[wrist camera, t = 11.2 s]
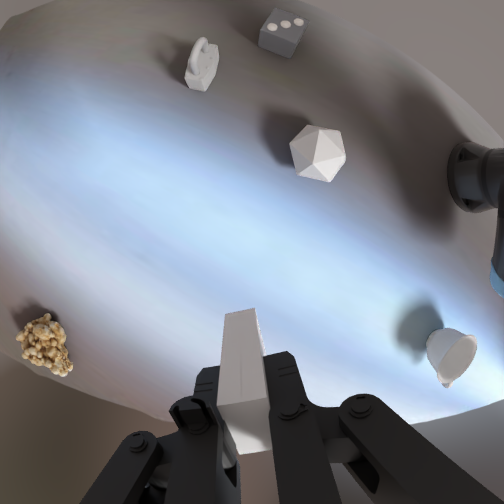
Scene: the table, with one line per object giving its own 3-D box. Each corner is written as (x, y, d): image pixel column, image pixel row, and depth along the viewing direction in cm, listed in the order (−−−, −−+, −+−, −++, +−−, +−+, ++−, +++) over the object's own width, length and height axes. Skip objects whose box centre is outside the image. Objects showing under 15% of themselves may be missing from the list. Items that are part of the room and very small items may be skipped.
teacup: (410, 376, 55) (430, 400, 45) (418, 324, 51) (443, 346, 42) (446, 361, 55) (467, 381, 45) (456, 310, 51) (482, 327, 42)
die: (291, 186, 45) (341, 196, 38) (267, 145, 39) (320, 147, 32) (317, 156, 46) (364, 161, 40) (297, 115, 41) (348, 114, 34)
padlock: (208, 93, 40) (201, 69, 30) (185, 88, 39) (173, 64, 30) (222, 58, 39) (219, 29, 29) (200, 54, 38) (192, 25, 28)
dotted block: (302, 36, 38) (309, 20, 32) (289, 59, 39) (296, 43, 33) (270, 24, 37) (274, 6, 31) (256, 46, 38) (259, 29, 32)
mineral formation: (80, 368, 50) (32, 357, 48) (72, 312, 49) (24, 304, 47) (65, 384, 42) (15, 369, 40) (54, 323, 41) (4, 312, 39)
